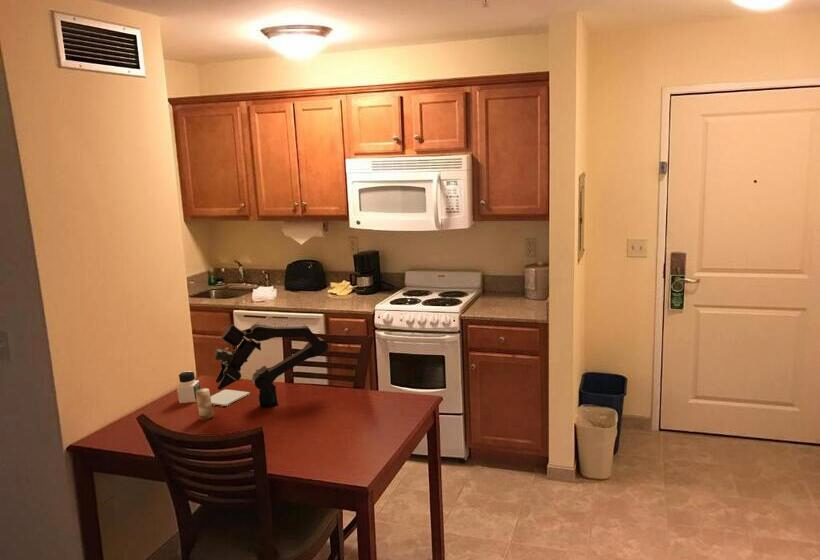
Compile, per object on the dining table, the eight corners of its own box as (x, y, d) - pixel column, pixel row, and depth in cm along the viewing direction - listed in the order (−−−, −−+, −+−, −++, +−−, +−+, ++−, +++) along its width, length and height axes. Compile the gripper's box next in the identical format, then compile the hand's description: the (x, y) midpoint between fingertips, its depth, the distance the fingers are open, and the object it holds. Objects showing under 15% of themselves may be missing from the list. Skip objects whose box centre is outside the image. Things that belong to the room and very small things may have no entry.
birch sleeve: (213, 414, 259) (209, 387, 257) (214, 418, 254) (209, 391, 252) (199, 416, 258) (195, 390, 256) (199, 421, 253) (195, 394, 251)
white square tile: (250, 394, 278) (249, 392, 278) (226, 406, 266) (225, 404, 266) (225, 391, 285) (225, 389, 284) (201, 403, 273) (200, 401, 273)
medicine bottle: (196, 402, 275) (191, 374, 273) (179, 403, 275) (174, 376, 273) (201, 396, 282) (197, 369, 280) (185, 397, 282) (180, 370, 280)
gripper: (223, 336, 263) (198, 368, 261) (227, 347, 246) (201, 381, 244) (246, 351, 267) (222, 383, 265) (252, 363, 250) (226, 397, 248)
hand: (217, 385), depth 256 cm, fingers open, 9 cm apart
